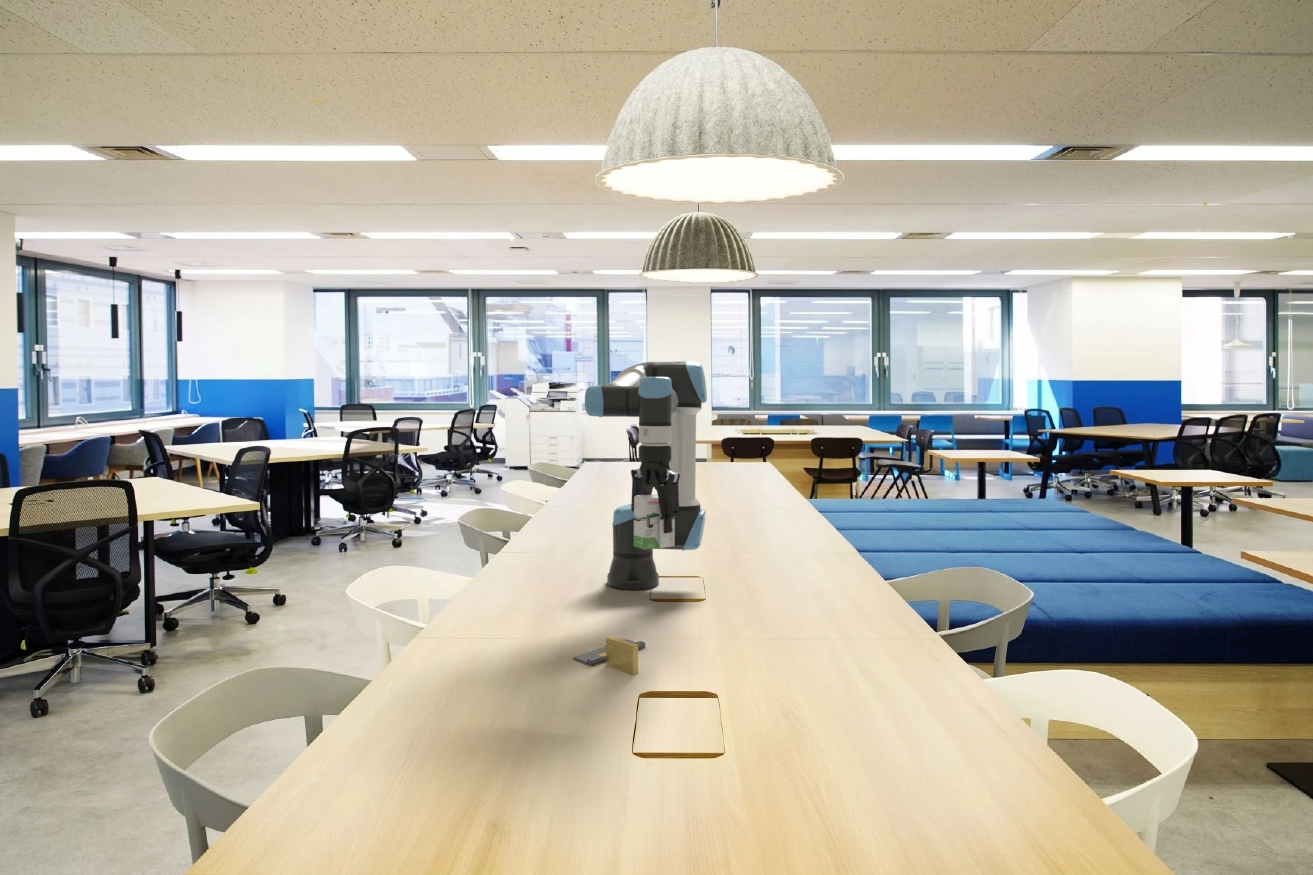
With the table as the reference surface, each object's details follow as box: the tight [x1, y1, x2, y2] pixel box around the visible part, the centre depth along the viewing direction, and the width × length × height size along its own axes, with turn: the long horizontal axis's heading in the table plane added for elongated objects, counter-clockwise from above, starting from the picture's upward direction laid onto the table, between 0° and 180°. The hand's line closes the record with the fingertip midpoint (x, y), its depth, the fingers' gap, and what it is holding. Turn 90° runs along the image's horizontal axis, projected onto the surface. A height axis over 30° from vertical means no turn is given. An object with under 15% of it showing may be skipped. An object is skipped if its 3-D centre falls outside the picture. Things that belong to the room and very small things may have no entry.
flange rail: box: [572, 635, 646, 676], centre depth 173 cm, size 16×16×6 cm
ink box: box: [634, 493, 675, 550], centre depth 184 cm, size 9×5×12 cm, turn 123°
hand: (654, 544), depth 185 cm, fingers closed on ink box, 6 cm apart
